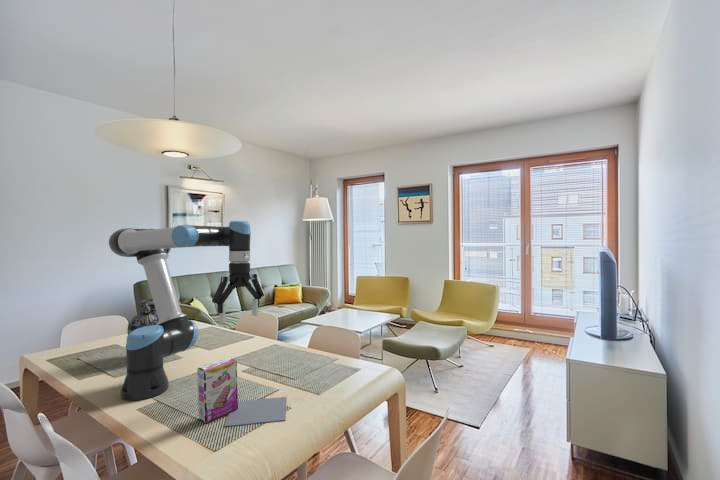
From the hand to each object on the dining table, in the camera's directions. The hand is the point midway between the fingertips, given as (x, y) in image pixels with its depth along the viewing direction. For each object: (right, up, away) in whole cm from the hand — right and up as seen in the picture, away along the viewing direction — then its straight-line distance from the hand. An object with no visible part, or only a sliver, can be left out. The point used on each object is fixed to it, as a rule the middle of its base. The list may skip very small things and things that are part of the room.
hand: (239, 318), depth 129 cm
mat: (+12, -27, -16) cm, 33 cm away
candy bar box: (0, -27, -18) cm, 32 cm away
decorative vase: (-57, -28, +38) cm, 74 cm away
